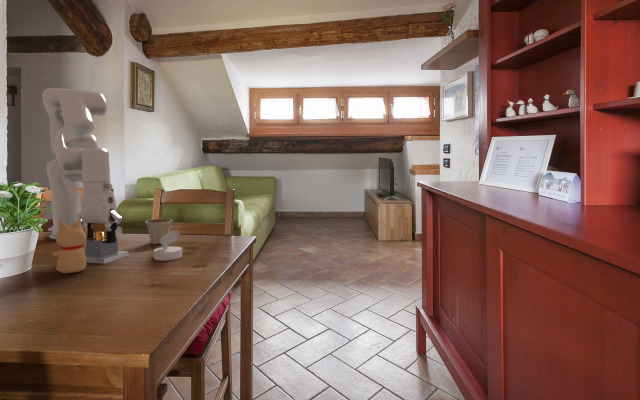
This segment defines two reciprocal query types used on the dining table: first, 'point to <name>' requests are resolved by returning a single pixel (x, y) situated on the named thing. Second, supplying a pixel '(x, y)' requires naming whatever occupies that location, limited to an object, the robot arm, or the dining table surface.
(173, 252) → the wall hook
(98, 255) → the grey square box
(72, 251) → the figurine
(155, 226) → the flower pot
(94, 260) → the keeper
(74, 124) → the robot arm
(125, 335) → the dining table surface
